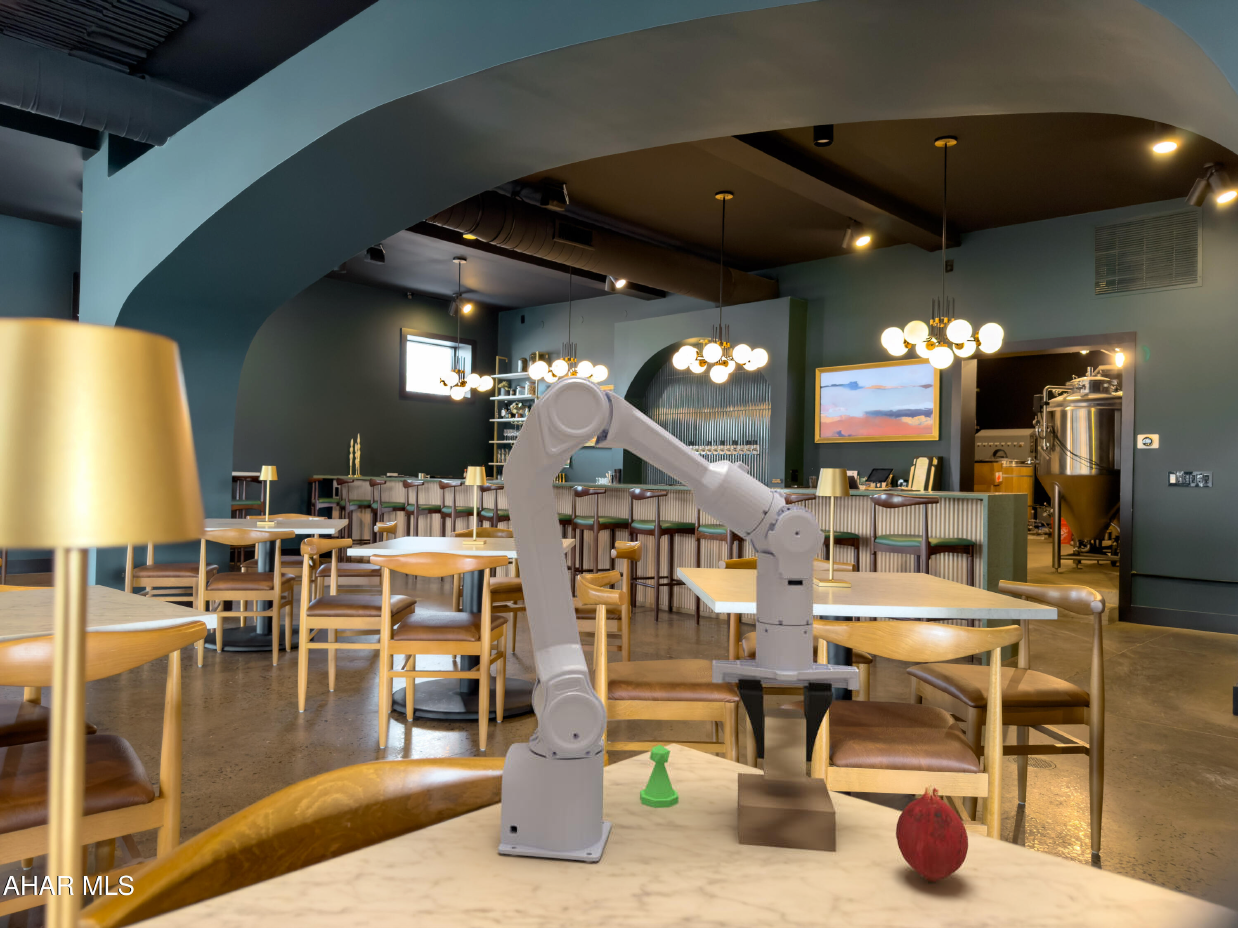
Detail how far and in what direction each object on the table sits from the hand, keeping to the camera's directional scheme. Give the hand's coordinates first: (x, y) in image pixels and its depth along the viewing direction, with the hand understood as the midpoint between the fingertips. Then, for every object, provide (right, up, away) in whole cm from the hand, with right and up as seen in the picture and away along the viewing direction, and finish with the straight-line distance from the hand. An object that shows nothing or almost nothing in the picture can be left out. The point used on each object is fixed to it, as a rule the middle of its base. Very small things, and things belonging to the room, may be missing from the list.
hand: (783, 757), depth 77 cm
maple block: (0, -2, 0) cm, 2 cm away
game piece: (-12, -7, +6) cm, 16 cm away
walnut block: (0, -7, 0) cm, 7 cm away
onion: (+11, -7, -11) cm, 17 cm away
